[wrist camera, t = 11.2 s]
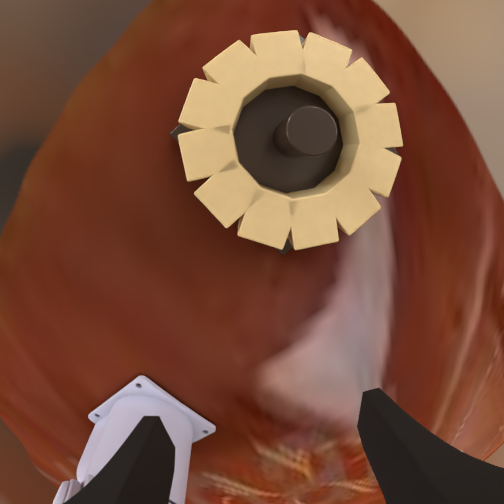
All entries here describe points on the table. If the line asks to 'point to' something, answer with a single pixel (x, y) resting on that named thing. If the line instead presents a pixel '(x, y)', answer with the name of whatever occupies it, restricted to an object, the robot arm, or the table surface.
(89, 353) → the table surface
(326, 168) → the stand
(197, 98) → the yellow gear ring
